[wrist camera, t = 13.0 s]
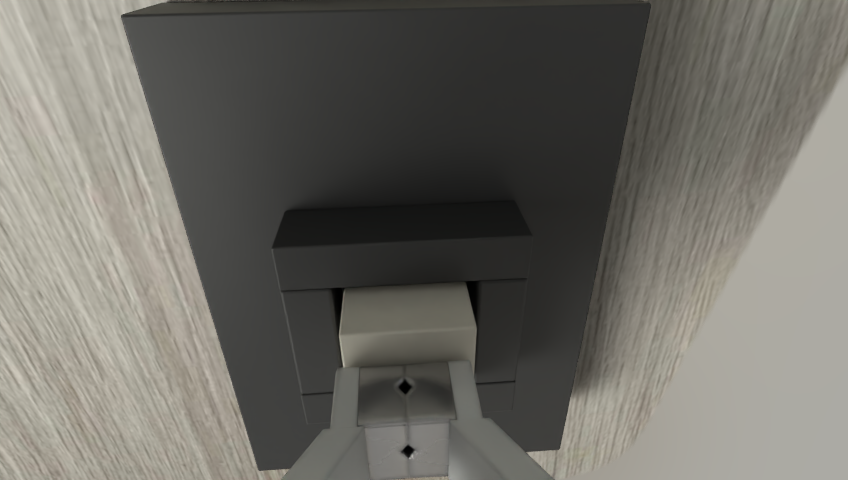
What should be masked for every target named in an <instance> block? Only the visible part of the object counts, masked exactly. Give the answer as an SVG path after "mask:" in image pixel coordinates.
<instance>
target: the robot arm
mask: <svg viewBox="0 0 848 480" xmlns="http://www.w3.org/2000/svg"><path fill="white" fill-rule="evenodd" d="M442 476H448V478H449V480H554V479H553V478H552V477H551V476H550V475H549V474H548V473H547V472H546V471H545V470H544V469H543V468H542V467H541V466H540V465H539V464H538V463H536V462H535V461H534V460H533V459H532V458H531V457H530V456H529V455H528V454H527V453H526V452H525V451H524V450H523V449H522V448H521V447H520V446H519V445H518V444H517V443H516V442H515V441H513V440H512V439H511V438H510V437H509V436H508V435H507V434H506V433H505V432H504V431H503V430H502V429H501V428H500V427H499V426H498V425H497V424H496V423H495V422H494V421H493V420H491V419H490V418H483V416H482V411H481V407H480V402H479V397H478V393H477V388H476V384H475V379H474V374H473V370H472V365H471V362H470V361H469V360H458V361H447V362H446V361H444V362H430V363H416V364H404V365H385V366H361V367H343V368H338V369H337V371H336V376H335V386H334V395H333V405H332V414H331V424H330V429H323V430H322V431H321V432H320V434H319V435H318V436H317V437H316V438H315V440H314V441H313V442H312V443H311V444H310V446H309V447H308V448H307V449H306V450H305V452H304V453H303V454H302V455H301V456H300V458H299V459H298V460H297V461H296V462H295V464H294V465H293V466H292V467H291V468H290V470H289V471H288V472H287V473H286V474H285V476H284V477H283V478H282V479H281V480H395V479H405V478H409V477H410V478H421V477H442Z"/></svg>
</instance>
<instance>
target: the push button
mask: <svg viewBox="0 0 848 480" xmlns="http://www.w3.org/2000/svg"><path fill="white" fill-rule="evenodd" d="M476 334H477V327H476V322H475V318H474V314H473V310H472V306H471V302H470V298H469V293H468V289H467V285H466V282H444V283H425V284H406V285H386V286H367V287H348V288H345V289H344V294H343V303H342V312H341V321H340V330H339V340H340V348H341V355H342V363H343V367H361V366H385V365H404V364H416V363H430V362H444V361H446V362H447V361H458V360H469V361H470V362H471V365H472V370H473V374H474V368H475V351H476Z"/></svg>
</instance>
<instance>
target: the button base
mask: <svg viewBox="0 0 848 480" xmlns="http://www.w3.org/2000/svg"><path fill="white" fill-rule="evenodd" d="M650 8H651V4H650V3H647V2H643V1H639V0H273V1H224V2H174V3H160V4H157V5H153V6H150V7H146V8H143V9H139V10H136V11H133V12H129V13H126V14H123V15H121V19H122V22H123V25H124V28H125V32H126V35H127V38H128V42H129V45H130V48H131V52H132V55H133V58H134V61H135V65H136V68H137V71H138V75H139V78H140V81H141V85H142V88H143V91H144V94H145V98H146V101H147V104H148V108H149V111H150V114H151V118H152V121H153V124H154V127H155V131H156V134H157V137H158V141H159V144H160V147H161V150H162V154H163V157H164V160H165V164H166V167H167V170H168V174H169V177H170V180H171V183H172V187H173V190H174V193H175V197H176V200H177V203H178V207H179V210H180V213H181V216H182V220H183V223H184V226H185V230H186V233H187V236H188V240H189V243H190V246H191V249H192V253H193V256H194V259H195V263H196V266H197V269H198V272H199V276H200V279H201V282H202V286H203V289H204V292H205V296H206V299H207V302H208V305H209V309H210V312H211V315H212V319H213V322H214V325H215V329H216V332H217V335H218V338H219V342H220V345H221V348H222V352H223V355H224V358H225V362H226V365H227V368H228V371H229V375H230V378H231V381H232V385H233V388H234V391H235V394H236V398H237V401H238V404H239V408H240V411H241V414H242V418H243V421H244V424H245V427H246V431H247V434H248V437H249V441H250V444H251V447H252V451H253V454H254V457H255V460H256V464H257V467H258V470H259V471H263V470H277V469H290V468H291V467H292V466H293V465H294V464H295V462H296V461H297V460H298V459H299V458H300V456H301V455H302V454H303V453H304V452H305V450H306V449H307V448H308V447H309V446H310V444H311V443H312V442H313V441H314V440H315V438H316V437H317V436H318V435H319V434H320V432H321V431H322V430H323V429H330V424H331V414H332V405H333V395H334V386H335V376H336V371H337V369H338V368H343V363H342V355H341V348H340V340H339V330H340V321H341V312H342V303H343V294H344V289H345V288H348V287H367V286H386V285H406V284H425V283H444V282H466V285H467V289H468V293H469V298H470V302H471V306H472V310H473V314H474V318H475V322H476V327H477V334H476V351H475V368H474V379H475V384H476V388H477V393H478V397H479V402H480V407H481V411H482V416H483V418H490V419H491V420H493V421H494V422H495V423H496V424H497V425H498V426H499V427H500V428H501V429H502V430H503V431H504V432H505V433H506V434H507V435H508V436H509V437H510V438H511V439H512V440H513V441H515V442H516V443H517V444H518V445H519V446H520V447H521V448H522V449H523V450H524V451H525V452H531V451H546V450H559V449H560V445H561V440H562V435H563V430H564V426H565V421H566V416H567V411H568V406H569V401H570V396H571V392H572V387H573V382H574V377H575V372H576V367H577V362H578V358H579V353H580V348H581V343H582V338H583V333H584V329H585V324H586V319H587V314H588V309H589V304H590V299H591V295H592V290H593V285H594V280H595V275H596V270H597V265H598V261H599V256H600V251H601V246H602V241H603V236H604V231H605V227H606V222H607V217H608V212H609V207H610V202H611V197H612V193H613V188H614V183H615V178H616V173H617V168H618V164H619V159H620V154H621V149H622V144H623V139H624V134H625V130H626V125H627V120H628V115H629V110H630V105H631V100H632V96H633V91H634V86H635V81H636V76H637V71H638V66H639V62H640V57H641V52H642V47H643V42H644V37H645V32H646V28H647V23H648V18H649V13H650Z"/></svg>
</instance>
